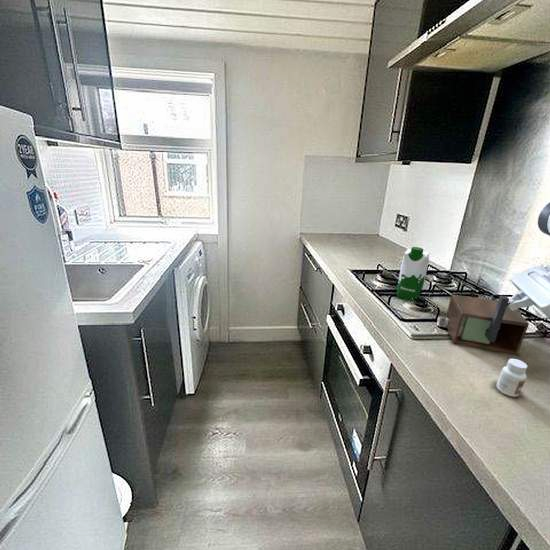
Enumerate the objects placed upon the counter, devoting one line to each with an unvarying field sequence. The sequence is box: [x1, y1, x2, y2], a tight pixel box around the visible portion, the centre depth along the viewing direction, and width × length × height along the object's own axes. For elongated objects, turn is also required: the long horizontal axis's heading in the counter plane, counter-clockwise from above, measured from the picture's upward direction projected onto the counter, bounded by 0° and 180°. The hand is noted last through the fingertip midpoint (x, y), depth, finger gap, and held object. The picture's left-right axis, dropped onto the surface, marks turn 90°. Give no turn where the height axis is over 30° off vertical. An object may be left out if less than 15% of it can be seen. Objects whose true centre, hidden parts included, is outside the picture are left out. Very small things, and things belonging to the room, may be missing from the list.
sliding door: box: [461, 295, 510, 344], centre depth 83 cm, size 7×4×16 cm, turn 72°
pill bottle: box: [496, 358, 528, 397], centre depth 69 cm, size 4×4×8 cm
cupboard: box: [445, 293, 530, 356], centre depth 90 cm, size 16×14×10 cm
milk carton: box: [396, 246, 430, 303], centre depth 115 cm, size 9×9×20 cm
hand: (508, 306), depth 79 cm, fingers closed, pressing on sliding door
